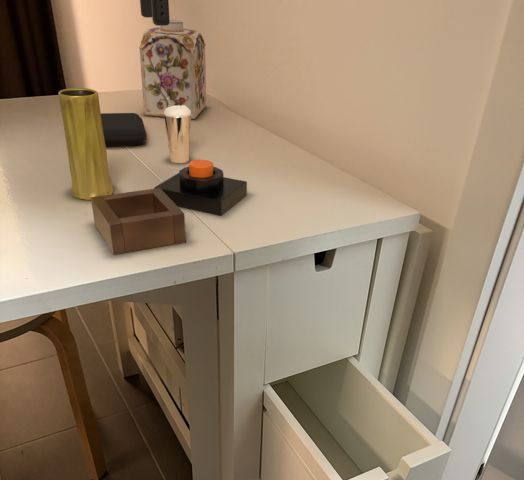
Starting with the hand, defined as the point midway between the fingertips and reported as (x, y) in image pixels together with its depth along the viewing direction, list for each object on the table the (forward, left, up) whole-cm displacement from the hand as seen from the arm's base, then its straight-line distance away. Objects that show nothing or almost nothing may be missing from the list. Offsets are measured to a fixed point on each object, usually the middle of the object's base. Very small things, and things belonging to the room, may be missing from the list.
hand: (155, 21), depth 79 cm
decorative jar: (-19, +37, -22) cm, 47 cm away
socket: (+9, -21, -22) cm, 32 cm away
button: (+10, -6, -18) cm, 22 cm away
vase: (-5, -12, -22) cm, 26 cm away
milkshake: (-2, +8, -22) cm, 24 cm away
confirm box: (+10, -6, -22) cm, 25 cm away
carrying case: (-19, +14, -22) cm, 32 cm away
